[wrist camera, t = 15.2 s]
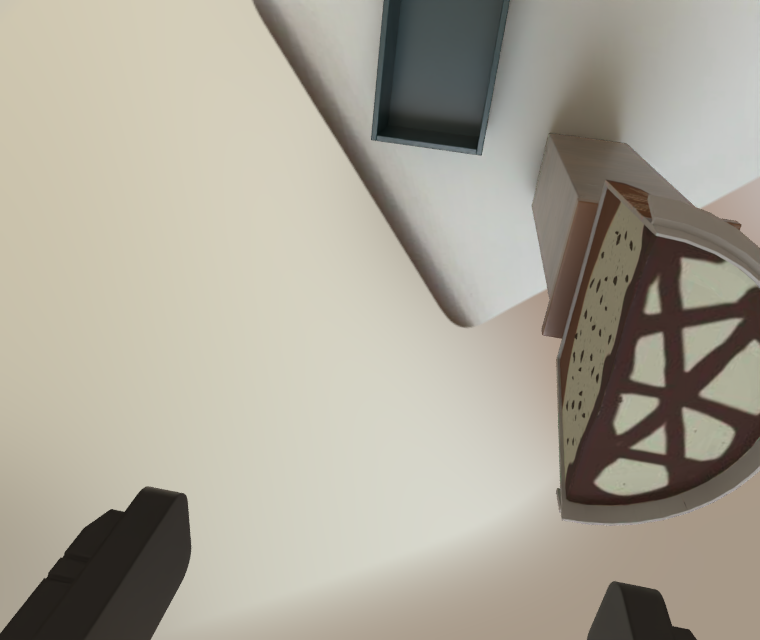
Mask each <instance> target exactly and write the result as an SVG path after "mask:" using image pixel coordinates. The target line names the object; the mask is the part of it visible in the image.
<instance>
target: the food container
mask: <svg viewBox="0 0 760 640" xmlns="http://www.w3.org/2000/svg"><path fill="white" fill-rule="evenodd" d="M556 362H557V363H556V364H557V395H558V425H559V426H558V429H559V462H560V489H559V488H557V491H556V494H557V500H558V506H559V512H561V517H562V520H564V521H570V522H576V523H582V524H592V525H609V526H612V525H632V524H642V523H648V522H654V521H660V520H665V519H668V518H672V517H675V516H679V515H683V514H686V513H689V512H692V511H694V510H696V509H698V508H701V507H704V506H706V505H709V504H711V503H713V502H715V501H717V500H719V499H720V498H722V497H724V496H725V495H727V494H729V493H731V492H732V491H734V490H736V489H737V488H739V487H740V486H741V485H742V484H744V483H745V482H746V481H748V480H749V479H750V478H751V477H753V476H754V475H755V474H756V473H758V471H759V470H760V248H759V247H758V246H757V245H756V244H755V243H753V242H752V241H751V240H750V239H749V238H748V237H746V236H745V235H744V234H743V233H742V232H741V231H739V230H738V229H737V228H735V227H734V226H732V225H730V224H728V223H727V222H725V221H723V220H722V219H720V218H718V217H716V216H715V215H713V214H711V213H710V212H707V211H704V210H702V209H699V208H696V207H694V206H691V205H689V204H686V203H683V202H681V201H677V200H673V199H668V198H663V197H659V196H654V195H650V194H649V193H647V192H645V191H643V190H642V189H639V188H636V187H634V186H631V185H628V184H626V183H621V182H616V181H611V180H606V179H605V182H604V186H603V190H602V194H601V197H600V201H599V205H598V208H597V212H596V216H595V219H594V223H593V227H592V230H591V234H590V238H589V241H588V245H587V249H586V252H585V256H584V260H583V264H582V267H581V271H580V275H579V278H578V282H577V286H576V289H575V293H574V297H573V300H572V304H571V308H570V311H569V315H568V319H567V323H566V326H565V330H564V334H563V337H562V341H561V345H560V348H559V352H558V356H557V359H556Z"/></svg>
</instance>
